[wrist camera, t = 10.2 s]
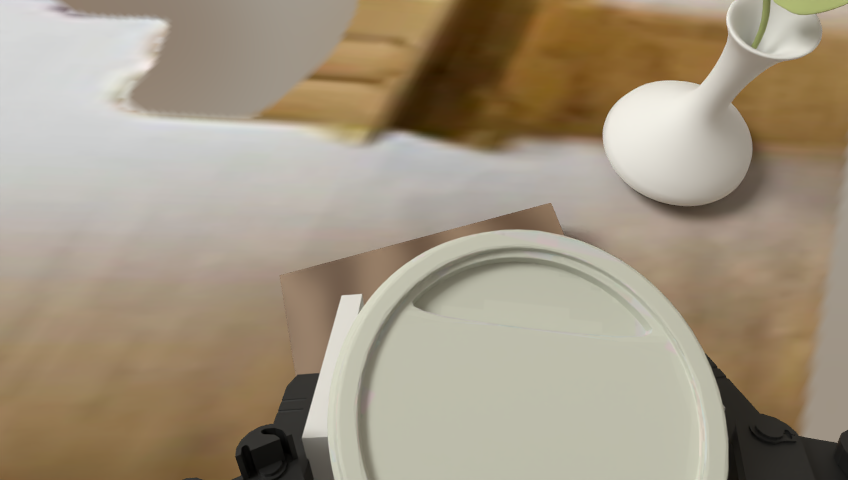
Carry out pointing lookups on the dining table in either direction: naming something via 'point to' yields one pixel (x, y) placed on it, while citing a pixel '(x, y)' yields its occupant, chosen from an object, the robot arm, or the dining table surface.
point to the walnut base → (371, 280)
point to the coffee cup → (523, 371)
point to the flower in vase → (707, 108)
